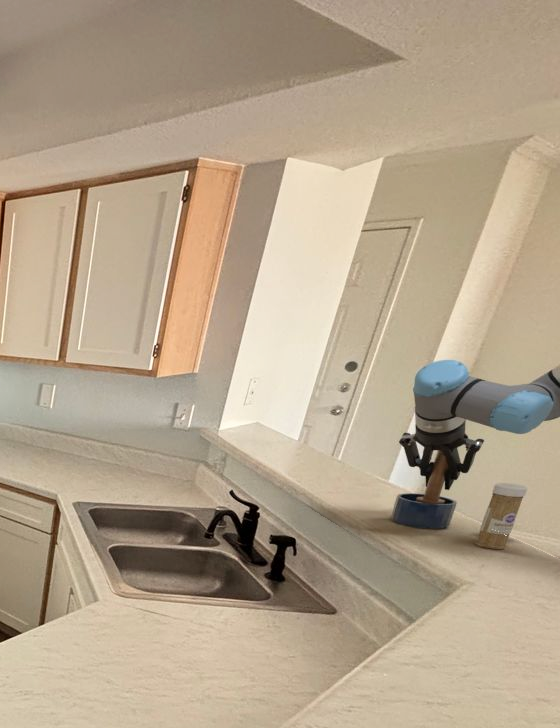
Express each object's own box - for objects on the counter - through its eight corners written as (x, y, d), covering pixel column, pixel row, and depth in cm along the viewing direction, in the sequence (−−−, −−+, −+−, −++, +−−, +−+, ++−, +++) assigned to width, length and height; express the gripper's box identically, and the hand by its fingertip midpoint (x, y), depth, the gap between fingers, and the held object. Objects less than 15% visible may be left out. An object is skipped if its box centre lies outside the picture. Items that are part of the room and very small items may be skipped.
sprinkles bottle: (493, 551, 122) (516, 488, 118) (468, 543, 126) (489, 483, 122) (511, 548, 123) (534, 486, 118) (485, 541, 127) (506, 481, 123)
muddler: (441, 511, 138) (467, 433, 132) (440, 515, 135) (465, 436, 129) (414, 507, 142) (437, 431, 136) (411, 511, 139) (435, 434, 133)
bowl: (450, 522, 140) (458, 498, 138) (446, 532, 133) (455, 507, 131) (393, 514, 147) (400, 491, 145) (387, 523, 140) (394, 499, 138)
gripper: (384, 430, 130) (389, 490, 144) (484, 439, 118) (479, 503, 132) (399, 404, 131) (403, 466, 145) (500, 410, 119) (493, 476, 133)
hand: (439, 483), depth 139 cm, fingers closed on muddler, 3 cm apart
